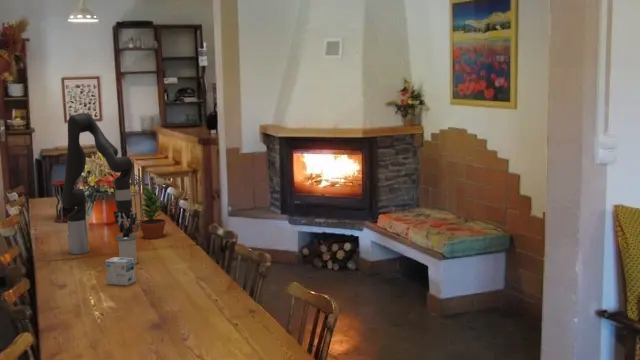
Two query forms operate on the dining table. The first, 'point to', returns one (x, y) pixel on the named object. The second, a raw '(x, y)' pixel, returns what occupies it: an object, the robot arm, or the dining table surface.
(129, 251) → the light grey cylinder
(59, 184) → the hourglass
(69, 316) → the dining table surface
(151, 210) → the potted plant
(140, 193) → the geometric lantern
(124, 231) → the lid
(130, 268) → the light bulb box
